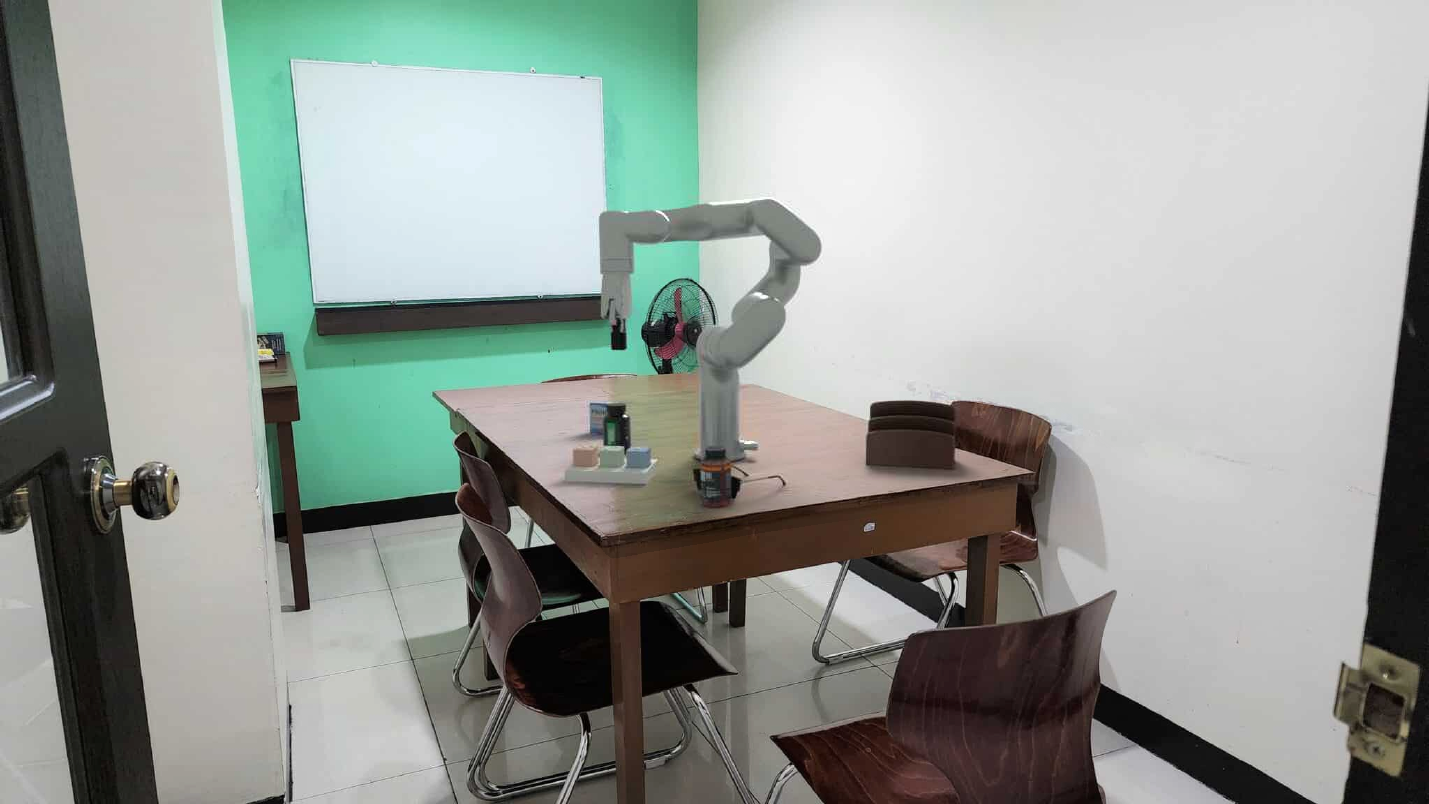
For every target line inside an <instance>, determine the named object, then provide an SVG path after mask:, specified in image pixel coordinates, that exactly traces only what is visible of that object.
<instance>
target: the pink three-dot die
mask: <svg viewBox="0 0 1429 804" xmlns="http://www.w3.org/2000/svg"><path fill="white" fill-rule="evenodd" d="M572 458H573V461H572V462H573V463H572V464H573V466H575V467H594V466H596V465H597V464H598V463H599V462H598V458H599V445H585V444H584V445H580V444H578V445H577V446H576V447H574V448H573V449H572Z"/></svg>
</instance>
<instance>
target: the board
mask: <svg viewBox="0 0 1429 804" xmlns="http://www.w3.org/2000/svg"><path fill="white" fill-rule="evenodd" d="M624 460H625V464H624V465H623V466H622V467H621V468H610V467H600V457H598V462H599V463H598V464H597V465H596V466H594V467H575V466H573V463H572V464H571V465H569V466H568V467H567V468H565V470H564V482H573V483H574V482H575V483H600V484H601V483H602V484H604V483H605V484H632V485H635V484H636V485H647V484H648V483H649V481H650V480H652V478H653V477H654V476H655V475H656V474H657V473H658V471H659V459H658V458H656V459H654V458H651V465H650V466H649V467H648V468H647V469H645V468H627V461H626V458H624Z"/></svg>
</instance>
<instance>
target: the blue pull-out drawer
mask: <svg viewBox="0 0 1429 804" xmlns="http://www.w3.org/2000/svg"><path fill="white" fill-rule="evenodd" d="M651 448H652V447H651V446H631V447H630V448H629V449H628V450H627V451H626V454H625V456H626V457H625V459H626V461H627V468H645V469H647V468H648V467H649V466H650V465H651V459H652V456H651V455H652V453H651V452H652V450H651Z"/></svg>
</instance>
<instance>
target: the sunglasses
mask: <svg viewBox="0 0 1429 804" xmlns="http://www.w3.org/2000/svg"><path fill="white" fill-rule="evenodd" d="M731 468H734V469H735V470H737V471H739V472H741V473H742V474H743V475H744V476H745V477H750V474H748V473H746V472H745V471H743V470H742V469H740V468H738V467H737V466H736V465H733V464H731ZM691 472H692V474H693V481H694V482H695V485H696V489H697V491H700V492H701V468H692V469H691ZM774 478H778V479H779V480H780V481H781V482H782V485H783V486H786V485H787V483H786V481H785V480H784V479H783V478H782V477H781V476H780V475H771V476H765V477H760V478H752V479H741V478H739V477H736V476H735V475H731V496H732V499H731V500H736V499H737V496H738V494H739V492H740V491H741V486H742V484H743V483H745V484H746V483H749V482H756V481H761V480H767V479H774Z"/></svg>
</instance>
